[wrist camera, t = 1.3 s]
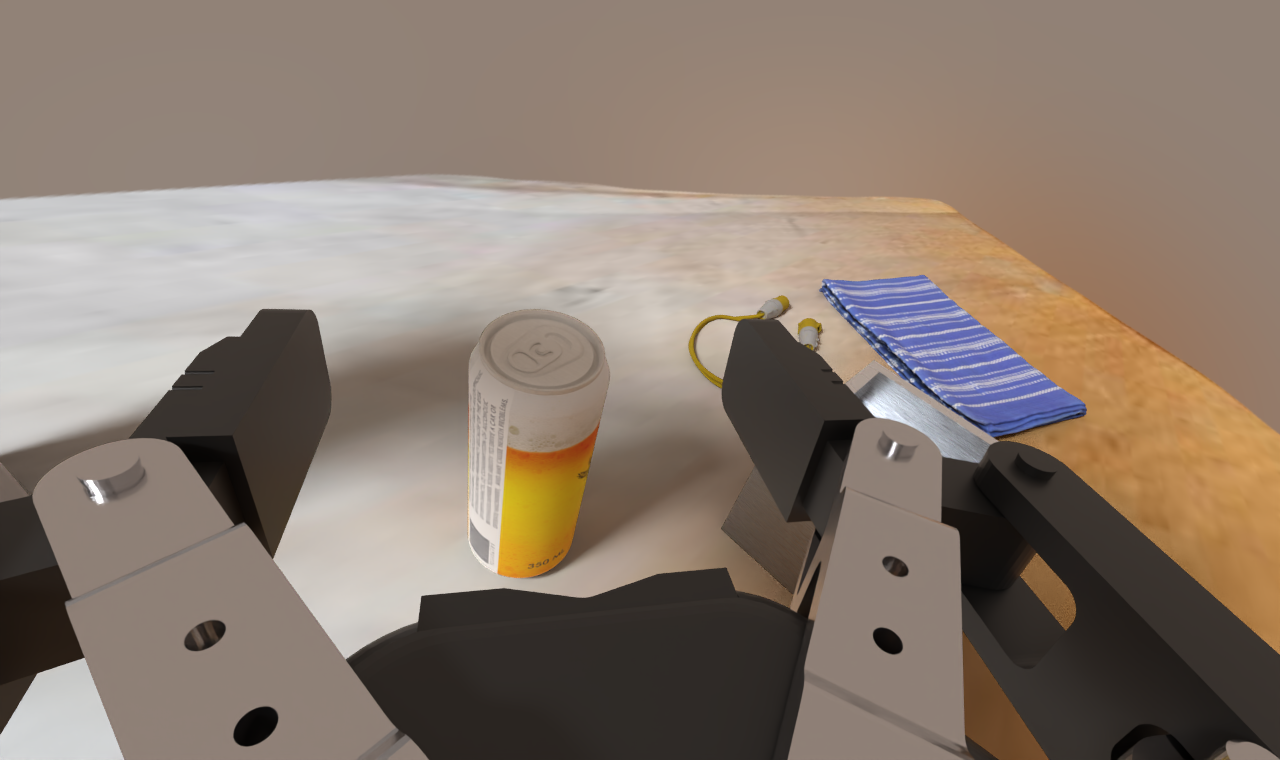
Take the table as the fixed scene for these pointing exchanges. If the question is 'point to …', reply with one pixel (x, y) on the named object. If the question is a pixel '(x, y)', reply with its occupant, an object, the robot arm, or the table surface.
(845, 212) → the table surface
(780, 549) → the grey hollow box
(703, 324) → the extension cord
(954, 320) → the dish towel
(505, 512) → the beer can
